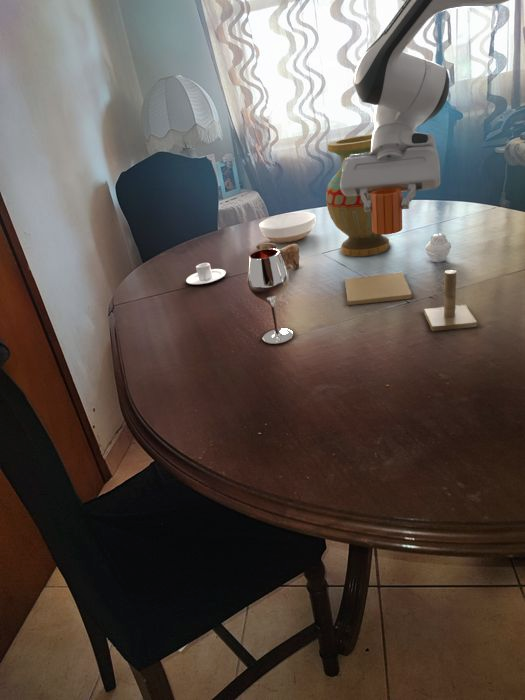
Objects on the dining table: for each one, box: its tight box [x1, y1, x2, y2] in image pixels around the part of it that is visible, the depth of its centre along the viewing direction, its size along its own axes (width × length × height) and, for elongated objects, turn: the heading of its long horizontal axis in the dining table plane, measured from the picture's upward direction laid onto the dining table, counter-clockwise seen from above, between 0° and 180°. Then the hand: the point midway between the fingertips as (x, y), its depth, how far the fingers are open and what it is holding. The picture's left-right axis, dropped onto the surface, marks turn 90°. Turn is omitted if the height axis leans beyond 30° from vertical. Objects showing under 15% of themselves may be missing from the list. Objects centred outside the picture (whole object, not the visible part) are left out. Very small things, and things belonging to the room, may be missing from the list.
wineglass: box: [247, 248, 294, 345], centre depth 92 cm, size 8×8×18 cm
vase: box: [325, 133, 390, 257], centre depth 130 cm, size 20×20×30 cm
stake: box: [423, 269, 478, 332], centre depth 88 cm, size 8×8×10 cm
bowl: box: [258, 211, 317, 244], centre depth 159 cm, size 20×20×6 cm
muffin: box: [425, 233, 452, 263], centre depth 117 cm, size 6×6×7 cm
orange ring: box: [371, 188, 403, 236], centre depth 96 cm, size 6×6×8 cm
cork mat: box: [344, 271, 413, 306], centre depth 109 cm, size 14×14×1 cm
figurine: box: [256, 242, 301, 270], centre depth 128 cm, size 7×16×10 cm, turn 139°
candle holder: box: [185, 262, 227, 285], centre depth 136 cm, size 12×12×4 cm
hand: (386, 209), depth 95 cm, fingers closed on orange ring, 6 cm apart
